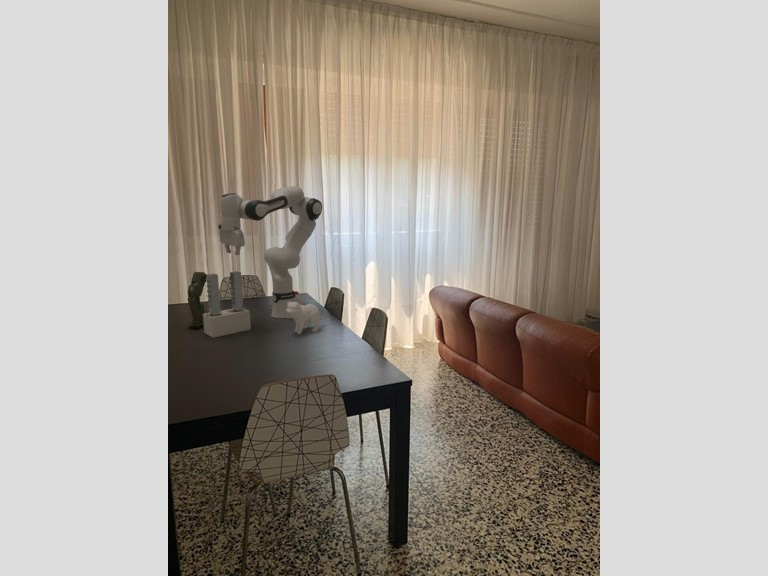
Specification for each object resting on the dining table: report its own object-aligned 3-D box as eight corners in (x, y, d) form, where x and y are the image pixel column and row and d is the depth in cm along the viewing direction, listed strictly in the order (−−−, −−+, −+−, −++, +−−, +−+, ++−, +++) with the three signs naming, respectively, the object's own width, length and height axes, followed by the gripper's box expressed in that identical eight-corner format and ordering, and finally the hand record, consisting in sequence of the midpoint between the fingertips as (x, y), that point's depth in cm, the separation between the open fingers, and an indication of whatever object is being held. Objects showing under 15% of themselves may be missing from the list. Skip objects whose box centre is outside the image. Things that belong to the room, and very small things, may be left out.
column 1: (217, 316, 223) (214, 273, 218) (220, 318, 220) (217, 274, 215) (208, 318, 220) (205, 274, 215) (212, 319, 217) (208, 275, 212)
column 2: (239, 312, 231) (237, 271, 226) (243, 314, 228) (241, 272, 223) (231, 314, 228) (228, 272, 223) (235, 315, 225) (232, 273, 220)
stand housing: (241, 325, 236) (240, 306, 234) (250, 329, 229) (249, 309, 227) (204, 333, 223) (202, 312, 220) (212, 337, 215) (211, 316, 213)
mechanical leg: (194, 330, 223) (198, 271, 224) (182, 329, 225) (186, 270, 226) (210, 329, 237) (214, 273, 238) (198, 328, 238) (202, 272, 239)
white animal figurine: (316, 323, 241) (315, 293, 237) (330, 327, 234) (329, 296, 231) (279, 334, 222) (278, 302, 218) (293, 338, 215) (292, 305, 212)
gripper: (247, 227, 215) (248, 255, 218) (228, 225, 229) (230, 251, 232) (235, 228, 210) (236, 256, 213) (216, 225, 225) (218, 252, 228)
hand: (233, 254), depth 223 cm, fingers open, 8 cm apart
